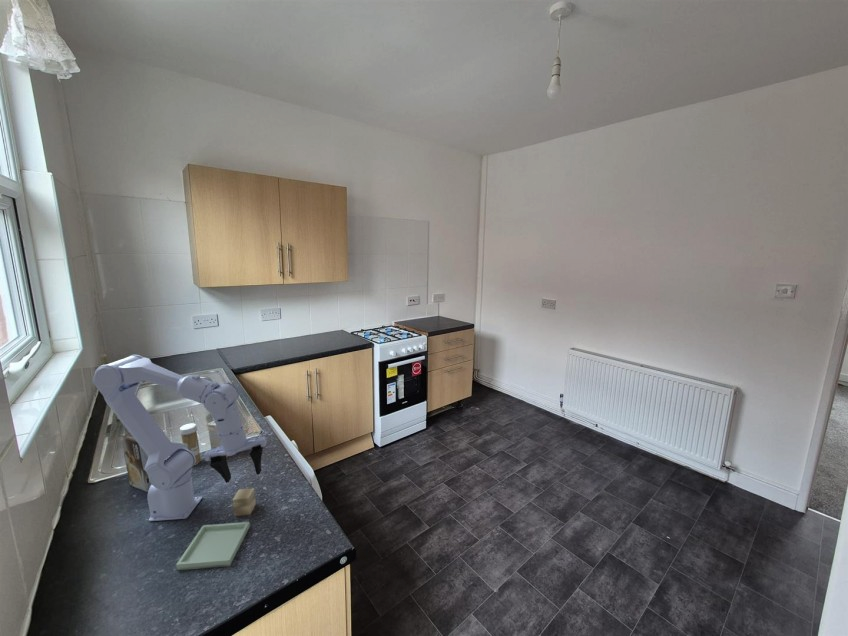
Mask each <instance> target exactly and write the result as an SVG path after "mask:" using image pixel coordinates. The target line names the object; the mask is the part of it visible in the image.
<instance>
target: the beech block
mask: <svg viewBox="0 0 848 636" xmlns="http://www.w3.org/2000/svg"><path fill="white" fill-rule="evenodd" d="M255 493H256V492H255V488H253V487H252V488H240V489H239V488H238V490H237V492H236V493H235V495H234V497H233V498H232V507H233V515H234V517H239V516H250V515H251V514H252V512H253V510H254V508H255V507H256V494H255Z"/></svg>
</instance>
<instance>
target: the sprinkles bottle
mask: <svg viewBox="0 0 848 636" xmlns="http://www.w3.org/2000/svg"><path fill="white" fill-rule="evenodd" d="M197 431H198V427H197V423H194V422H192V423H187V424H183V425H181V427H179V433H180V435H181V443H182V444H183V446H184V447H185V448H187V449H188V450H190V451H192V452H193V454H194V455H195V458H196V462H195V464H197V463H199V462H200V460H201V461H202V459H201V454H200V453H201V452H200V451H201V450H200V445H199V443H200V442H199V439H198V437H199V436H198V432H197ZM200 463H201V462H200ZM200 463H199V464H200ZM195 464H194V465H195ZM197 465H198V464H197ZM195 466H196V465H195Z"/></svg>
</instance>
